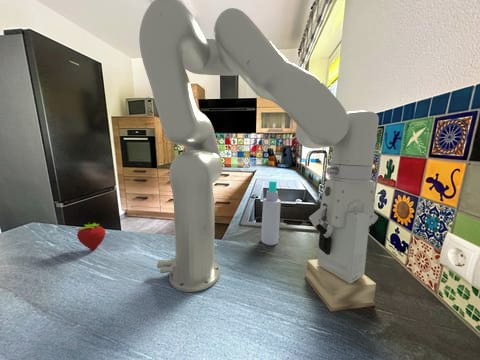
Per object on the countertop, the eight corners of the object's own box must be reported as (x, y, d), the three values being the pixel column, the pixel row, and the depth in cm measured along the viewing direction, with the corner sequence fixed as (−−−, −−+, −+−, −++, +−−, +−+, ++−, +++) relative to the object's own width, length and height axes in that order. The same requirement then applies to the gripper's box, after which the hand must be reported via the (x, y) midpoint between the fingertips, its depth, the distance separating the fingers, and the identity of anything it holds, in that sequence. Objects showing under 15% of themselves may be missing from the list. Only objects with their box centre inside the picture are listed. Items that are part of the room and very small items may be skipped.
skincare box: (364, 276, 41) (374, 211, 39) (349, 285, 38) (359, 215, 36) (329, 257, 48) (335, 201, 46) (314, 264, 45) (320, 204, 43)
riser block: (330, 311, 38) (333, 289, 37) (304, 277, 48) (306, 259, 47) (374, 305, 40) (377, 284, 39) (340, 274, 50) (342, 256, 49)
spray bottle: (259, 237, 70) (262, 179, 66) (275, 237, 70) (279, 180, 67) (262, 245, 64) (265, 182, 60) (280, 245, 64) (284, 182, 61)
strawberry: (97, 256, 55) (94, 223, 53) (72, 254, 55) (69, 222, 54) (111, 246, 61) (109, 216, 59) (89, 244, 61) (86, 215, 60)
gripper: (323, 175, 35) (314, 262, 37) (401, 176, 38) (388, 257, 40) (303, 170, 42) (296, 244, 45) (370, 171, 45) (360, 240, 48)
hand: (340, 249), depth 42 cm, fingers closed on skincare box, 7 cm apart
